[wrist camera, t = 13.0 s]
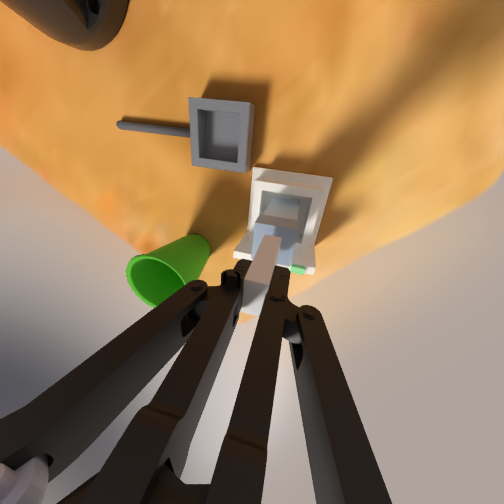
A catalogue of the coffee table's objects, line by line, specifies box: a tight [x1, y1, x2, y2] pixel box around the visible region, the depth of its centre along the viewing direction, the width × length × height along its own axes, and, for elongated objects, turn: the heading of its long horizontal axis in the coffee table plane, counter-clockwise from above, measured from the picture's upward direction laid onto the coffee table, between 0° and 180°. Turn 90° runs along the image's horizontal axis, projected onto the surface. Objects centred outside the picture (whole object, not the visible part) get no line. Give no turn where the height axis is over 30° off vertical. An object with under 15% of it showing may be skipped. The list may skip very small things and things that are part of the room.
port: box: [234, 167, 333, 275], centre depth 25 cm, size 10×10×8 cm
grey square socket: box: [189, 97, 255, 173], centre depth 25 cm, size 7×7×3 cm
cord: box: [116, 121, 191, 138], centre depth 27 cm, size 1×12×1 cm, turn 84°
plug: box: [251, 197, 300, 267], centre depth 23 cm, size 4×4×10 cm
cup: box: [126, 234, 210, 308], centre depth 30 cm, size 9×9×11 cm
